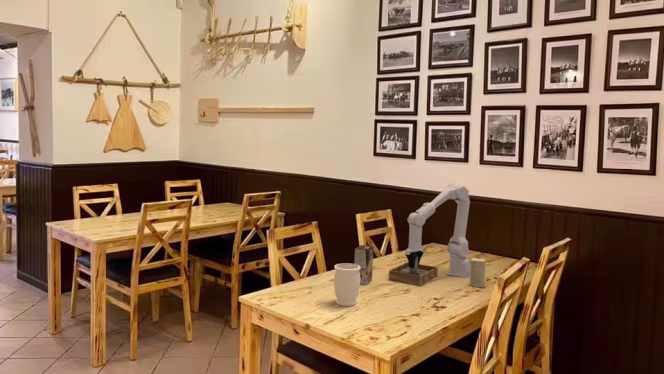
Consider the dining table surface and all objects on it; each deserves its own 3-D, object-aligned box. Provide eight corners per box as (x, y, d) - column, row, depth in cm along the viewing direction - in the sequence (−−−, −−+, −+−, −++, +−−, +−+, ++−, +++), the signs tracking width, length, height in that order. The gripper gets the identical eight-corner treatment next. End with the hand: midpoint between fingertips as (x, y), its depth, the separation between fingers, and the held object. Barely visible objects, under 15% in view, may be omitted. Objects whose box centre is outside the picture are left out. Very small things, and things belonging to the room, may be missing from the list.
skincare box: (484, 285, 243) (486, 259, 242) (482, 288, 239) (484, 261, 238) (470, 283, 246) (472, 257, 245) (468, 285, 242) (470, 259, 241)
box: (406, 270, 264) (407, 262, 264) (437, 276, 256) (437, 267, 255) (388, 280, 247) (389, 270, 247) (420, 286, 239) (421, 276, 238)
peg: (412, 270, 254) (412, 255, 253) (418, 271, 251) (419, 256, 251) (407, 271, 251) (408, 256, 250) (414, 272, 249) (415, 258, 248)
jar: (350, 309, 206) (352, 271, 204) (328, 303, 211) (329, 266, 210) (364, 302, 215) (365, 265, 213) (342, 297, 220) (343, 261, 219)
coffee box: (367, 285, 238) (368, 250, 236) (353, 283, 240) (354, 248, 238) (372, 280, 246) (373, 246, 245) (359, 278, 248) (360, 244, 247)
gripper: (415, 242, 241) (413, 271, 243) (430, 237, 253) (428, 265, 254) (401, 240, 245) (400, 268, 247) (416, 235, 257) (415, 263, 258)
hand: (413, 267), depth 251 cm, fingers closed on peg, 4 cm apart
